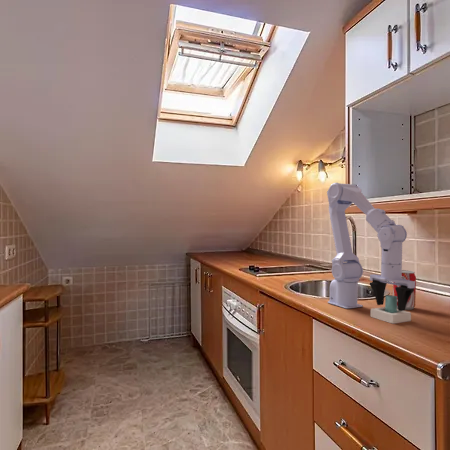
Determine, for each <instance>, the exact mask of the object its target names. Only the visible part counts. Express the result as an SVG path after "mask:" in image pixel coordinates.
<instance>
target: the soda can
mask: <svg viewBox="0 0 450 450" xmlns="http://www.w3.org/2000/svg"><path fill="white" fill-rule="evenodd" d="M402 279H406V280H410V281H415V288H414V291H413V292H412V294H411V295H410V297H409V299H408V302H407V304H406V308H405V310H404V311H412V310H414V308H416V295H417V294H416V293H417V291H416V290H417V276H416V274H415V271H413V270H405V269H402ZM393 283H395V282H393ZM398 284H399V283H398ZM395 287H400V286H398V285H393V284H392V295H393V296H397V292H396V289H395ZM397 309H398V297H397Z"/></svg>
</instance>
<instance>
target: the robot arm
mask: <svg viewBox="0 0 450 450" xmlns="http://www.w3.org/2000/svg"><path fill="white" fill-rule="evenodd" d="M326 196H327V201H328V213H329V219H330V225H331V229H332V236H333V241H334V242H333V243H334V246H335V252H336V255H335V256H334V257H333V258H332V259H331V264H332V265H331V274H332V276H333V278H334V279H332V280H331V282H330V284H329V300H328V301H327V304H331V305H333V306H338V307H340V308H343V309H355V308H363V306H364V305H363V304H359V303H358V291H359V286H358V285H359V281H360V279H361V277H362V276H363V274H364V269H363V266H362V264H361V262H360V259H359V257H358V256H357V255H355V253H354V252H353V248H352V243H351V238H350V233H349V227H348V222H347V218H346V217H347V216H346V210H347V209H349V207H351V205H352V204H354V206H356V207H357V209H359V210H360V211H361V212H362V213H363V214H365V220H366V222H367V223H368V224H369V225H370V226H371V227H372V228H373V229H374V231H375V232H376V233H377V235H376V236H377V238H378V240H379V242H380V248H381V266H380V270H381V271H380V274H373V273H372V274H369V281H371V282H369V286H370V287H371V290H372V292H373V294H374V298H375V301H376V304H377V306H383V305H384V304H385V291H386V288H387V284H388V285H392V286H393V285H398V286H400V287H395V289H396V292H397V297H398V308H397V309H398V310H399V311H406V310H405V308H406V304H407V302H408V299H409V297H410V295H411V294H412V292H413V291H414V288H415V281H410V280H406V279H402V270H403V268H402V267H403V242H405V241H406V239H407V236H408V233H407V230H406V228H405V227H404V225H402V224H397V223H396V222H395V221H394V219H391V218H390V216H388V215H387V214H386V211H385V209H381V208H375V207H374V206H373V205H372V203H371V202H370V201H369V200H368V199H367V197H366V196H365V195H364V194H363V193H362V189H361V188H360V187H359V186H358V185H357V184H354V183H341V182H340V183H339V182H333V183H331V184H330V186H329V188H328V190H327V192H326ZM393 282H395V283H393ZM398 283H399V284H398Z"/></svg>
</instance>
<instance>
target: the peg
mask: <svg viewBox="0 0 450 450" xmlns="http://www.w3.org/2000/svg"><path fill="white" fill-rule="evenodd" d="M384 307H385V312H389V313H397V309H398V308H397V296H393V294H392V295H391V294H386V295H385V297H384Z"/></svg>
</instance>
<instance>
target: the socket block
mask: <svg viewBox="0 0 450 450" xmlns="http://www.w3.org/2000/svg"><path fill="white" fill-rule="evenodd" d="M370 317H371V318H373V319H377V320H380V321H384V322H387V323H389V324H400V323H406V322H411V321H412V312H410V311H408V310H404V311H399V310H398V308H397V313H389V312H385V306H383V307H381V306H380V307H375V308H370Z"/></svg>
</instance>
